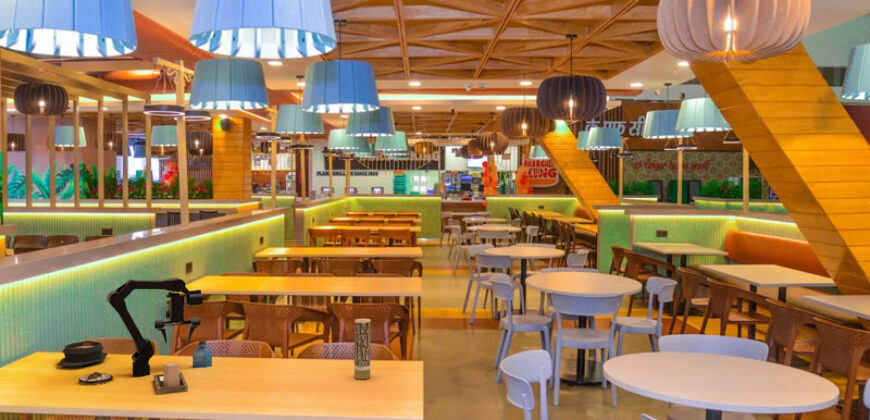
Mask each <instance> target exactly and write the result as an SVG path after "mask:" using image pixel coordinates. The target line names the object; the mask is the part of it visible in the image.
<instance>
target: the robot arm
mask: <svg viewBox="0 0 870 420" xmlns="http://www.w3.org/2000/svg"><path fill="white" fill-rule="evenodd" d="M186 286H187V285H186V282H185V280H183V279H182V278H179V277H170V278H166V279H133V278H131V279H128V280H126V282H125V283H123V284H122V285H120V286H119V287H117V288H116V289H115V290H111V291H110V292H109V293H108V294H107V295H106V301H107V302H108V304H109V305H110V306H111V307H112V309H113V310H114V311H115V312H116V313H117V314H118V316H119V317H120V319H121V322H122V323H123V324H124V326H125V329H126V330H127V332H128V333H129V335H130V337H131V338H132V341H133V343H134V344H133V345H134V347H135V348H134V349H135V352H134V353H133V354H132V355H131V359H132V363H131V365H132V367H131V368H132V369H131V371H132V372H131V373H132V375H131V376H132V377H133V378H141V377H142V378H143V377H146V376H147V377H148V376H150V375H151V364H150V363H149V362H150V360H151V358H153V357H154V354H155V350H154V349H155V347H154V346H153V345H152V342H151V340H150V339H149V338H148V337H146V338H144V336H143V335H142V332H141V331H140V330H139V328H138V326H137V325H136V323H135V321H134V320H133V317H132V316H131V314H130V312H129V310H128V307H127V303H126V299H127V298H128V297H129V296H130V295H131V293H132V292H133V291H134V290H163V291H164V290H165V291H167V293H166V294H165V298H168V299H170V306H169V307H170V309H169V310H165V319H167V320H168V319H169V320H168V321H167V320H166V321H165V319H155V320H154V321H153V327H154V329H156V330H157V331H160V333H161V334H162V336H163V340H164V342H165V344H168V343H167V342H168V340H167V332H166V328H165V327H169V326H181V325H184V326H185V325H188V335H187V342H190V341H191V337H192V335H193V333H194V331H195V329H196V328H197V329H198V326H199V327H200V326H201V319H200V317H196V316H195V317H189V319H185V305H187V307H191V306H192V307H193V306H194V307H195V306H202V305H203V301H204V298H203V295H202V290H201V289H195V290H189V289H188V288H187V287H186ZM180 293H182V294H180Z"/></svg>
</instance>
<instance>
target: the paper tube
mask: <svg viewBox="0 0 870 420" xmlns="http://www.w3.org/2000/svg"><path fill="white" fill-rule="evenodd" d="M371 322H372V321H371V319H370V318H356V319H354V355H353V356H354V359H353V360H354V362H353V363H354V364H353V368H354V375H353V377H354V378H355V379H356V380H363V381H364V380H367V379H370V378H371V342H372V341H371V340H372V339H371V338H372V337H371V333H372V330H371V328H372V327H371V325H372V323H371Z"/></svg>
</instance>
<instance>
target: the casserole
mask: <svg viewBox="0 0 870 420" xmlns="http://www.w3.org/2000/svg"><path fill="white" fill-rule="evenodd" d="M104 349H105V347H104V346H103V345H102V342H100V341H91V340H90V341H79V342H74V343H68V344H66V345H64V348H63V350H62V352H61V353H63V354H64V357H63V358H62V359H60V362H59V361H58V363H57V365H58V366H61V367H81V366H83V367H84V365H85V366H90V364H91V365H93V364H97V363H99V362H101V361H104V360H106V358H107V356H108V353H107V352H103V350H104Z"/></svg>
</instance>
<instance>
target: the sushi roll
mask: <svg viewBox="0 0 870 420" xmlns="http://www.w3.org/2000/svg"><path fill="white" fill-rule="evenodd" d="M111 380H112V381H113V374H111V373H105V372H99V371H95V372H93V373H89V374H85V375H82V376H81V377H79V378H78V382H79V383H80V385H82V384H83V385H84V386H88V385H89V386H91V385H92V386H98V385H97V384H101V385H103V383H104V384H107V383H106V382H108V383H110V382H111Z"/></svg>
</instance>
